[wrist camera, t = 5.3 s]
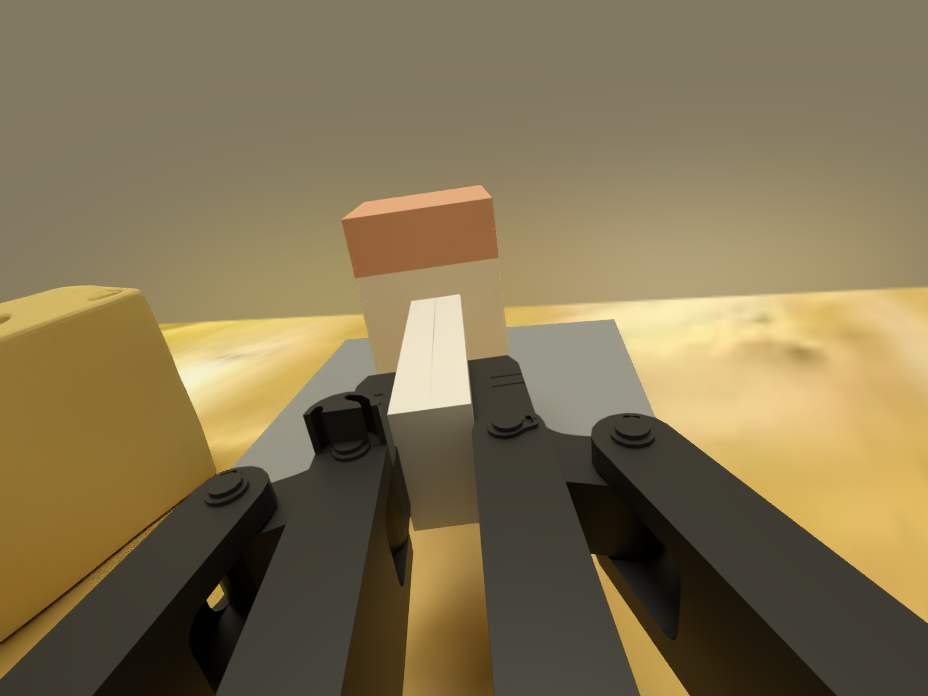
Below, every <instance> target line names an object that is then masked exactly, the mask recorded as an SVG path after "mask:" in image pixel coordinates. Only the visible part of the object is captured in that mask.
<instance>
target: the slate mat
mask: <svg viewBox="0 0 928 696" xmlns="http://www.w3.org/2000/svg"><path fill="white" fill-rule="evenodd" d="M506 333H507V342H508V352H509V356H510V357H511V358H512V359H514V360H515V361H517V362H518V363H519V366H520V369H521V372H522V375H523V378H524V381H525V384H526V387H527V390H528V393H529V396H530V399H531V402H532V405H533V408H534V411H535V413H536V414H538V415H539V416H540V417H541V418H542V420H543V421H544V422H545V425H546V427H547V428H549V429H551V430H553V431H556V432H560V433H563V434H570V435H580V436H591V432H592V427H593V426H594V425H595V424H596V423H597V422H598V421H599V420H601V419H603V418H605V417H608V416H610V415H615V414H622V413H638V414H643V415H647V416H651V417H655V416H654V413H653V411H652V409H651V406H650V404H649V401H648V399H647V397H646V394H645V392H644V390H643V387H642V385H641V382H640V380H639V378H638V375H637V373H636V371H635V368H634V366H633V363H632V361H631V359H630V356H629V354H628V352H627V349H626V347H625V344H624V342H623V340H622V337H621V335H620V333H619V330H618V328H617V325H616V323H615V321H614V319H613V320H599V321H586V322H573V323H560V324H547V325H533V326H520V327H507V328H506ZM370 375H377V370H376V366H375V361H374V357H373V353H372V349H371V344H370V340H369V338H362V339H349V340H345V341H344V343H343V344H342V345H341V346H340V347H339V348H338V349H337V350H336V352H335V353H334V354H333V355H332V356H331V357H330V358H329V359H328V360H327V362H326V363H325V364H324V365H323V366H322V367H321V368H320V369H319V371H318V372H317V373H316V374H315V375H314V376H313V377H312V378H311V380H310V381H309V382H308V383H307V384H306V385H305V386H304V387H303V389H302V390H301V391H300V392H299V393H298V394H297V395H296V396H295V398H294V399H293V400H292V401H291V402H290V403H289V404H288V405H287V407H286V408H285V409H284V410H283V411H282V412H281V413H280V414H279V416H278V417H277V418H276V419H275V420H274V421H273V422H272V423H271V424H270V426H269V427H268V428H267V429H266V430H265V431H264V432H263V433H262V435H261V436H260V437H259V438H258V439H257V440H256V441H255V442H254V444H253V445H252V446H251V447H250V448H249V449H248V450H247V451H246V453H245V454H244V455H243V456H242V457H241V458H240V459H239V460H238V462H237V463H236V464H235V465H234V466H233V467H232V468H236V467H245V466H255V467H260V468H262V469H263V470H265V471H266V472H267V473H268V475H269V478H270V481H271V483H272V482H275V481H278V480H281V479H284V478H287V477H290V476H293V475H296V474H298V473H301V472H303V471H306V470H308V469H309V467H310V465H311V463H312V460H313V458H314V455H315V452H314V449H313V446H312V443H311V440H310V437H309V433H308V430H307V427H306V424H305V421H304V418H303V414H304V413H305V412H306V411H307V410H308V408H309V407H311V406H312V405H314V404H315V403H317V402H318V401H320V400H322V399H325V398H327V397H329V396H332V395H335V394H339V393H344V392H352V391H355V389H356V387H357V386H358V385H359V384H360V383H361V382H362V381H363V380H364V379H365V378H366V377H367V376H370ZM232 468H231V469H232Z"/></svg>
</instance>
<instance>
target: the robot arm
mask: <svg viewBox="0 0 928 696" xmlns="http://www.w3.org/2000/svg"><path fill="white" fill-rule="evenodd" d="M303 418H304V421H305V424H306V427H307V430H308V433H309V437H310V440H311V443H312V446H313V449H314V452H315V455H314V458H313V460H312V463H311V465H310V467H309V469H308V470H306V471H303V472H301V473H298V474H296V475H293V476H290V477H287V478H284V479H281V480H278V481H275V482H272V483H271V481H270V478H269V475H268V473H267V472H266V471H265V470H263V469H262V468H260V467H255V466H245V467H236V468H232V469H230V470H226V471H223V472H220V473H219V474H218V475H216V476H214V477H212V478H210V479H208V480H207V481H205V482H204V483H203V484H201V485H200V486H199V487H198V488H196V489H195V490H194V491H193V492H192V493H191V494H190V495H189V496H188V497H187V498H186V499H185V500H184V501H183V502H182V503H181V504H180V505H179V506H178V507H177V508H175V509H174V510H173V511H172V512H171V513H170V514H169V515H168V516H167V517H166V518H165V519H164V520H163V521H162V522H161V523H160V524H159V525H158V526H157V527H156V528H155V529H154V530H153V531H152V532H151V533H150V534H149V535H148V536H147V537H146V538H145V539H144V540H143V541H142V542H141V543H140V544H139V545H138V546H137V547H136V548H135V549H133V550H132V551H131V552H130V553H129V554H128V555H127V556H126V557H125V558H124V559H123V560H122V561H121V562H120V563H119V564H118V565H117V566H116V567H115V568H114V569H113V570H112V571H111V572H110V573H109V574H108V575H107V576H106V577H105V578H104V579H103V580H102V581H101V582H100V583H99V584H98V585H97V586H96V587H95V588H94V589H93V590H92V591H90V592H89V593H88V594H87V595H86V596H85V597H84V598H83V599H82V600H81V601H80V602H79V603H78V604H77V605H76V606H75V607H74V608H73V609H72V610H71V611H70V612H69V613H68V614H67V615H66V616H65V617H64V618H63V619H62V620H61V621H60V622H59V623H58V624H57V625H56V626H55V627H54V628H53V629H52V630H51V631H50V632H49V633H47V634H46V635H45V636H44V637H43V638H42V639H41V640H40V641H39V642H38V643H37V644H36V645H35V646H34V647H33V648H32V649H31V650H30V651H29V652H28V653H27V654H26V655H25V656H24V657H23V658H22V659H21V660H20V661H19V662H18V663H17V664H16V665H15V666H14V667H13V668H12V669H11V670H10V671H9V672H8V673H7V674H6V675H4V676H3V677H2V678H1V679H0V696H402V694H403V680H404V667H405V654H406V640H407V627H408V613H409V600H410V587H411V573H412V560H413V549H412V543H411V539H410V535H409V531H408V530H409V520H410V515H411V519H412V523H413V527H414V531H417V530H425V529H433V528H440V527H448V526H455V525H463V524H471V523H478V522H479V524H480V536H481V547H482V559H483V570H484V582H485V594H486V605H487V617H488V628H489V640H490V652H491V663H492V675H493V686H494V696H640V694H639V691H638V688H637V685H636V682H635V679H634V676H633V674H632V671H631V668H630V665H629V662H628V659H627V656H626V653H625V651H624V648H623V645H622V642H621V639H620V636H619V633H618V631H617V628H616V625H615V622H614V619H613V616H612V613H611V611H610V608H609V605H608V602H607V599H606V596H605V593H604V591H603V588H602V585H601V582H600V579H599V576H598V573H597V571H596V568H595V565H594V562H593V559H592V556H591V554H595V555H596V557H597V559H598V562H599V564H600V566H601V567H602V568H603V570H604V571H605V573H606V574H607V576H608V577H609V579H610V580H611V582H612V583H613V584H614V586H615V587H616V589H617V590H618V592H619V593H620V595H621V596H622V598H623V599H624V600H625V602H626V603H627V605H628V606H629V608H630V609H631V611H632V612H633V614H634V615H635V616H636V618H637V619H638V621H639V622H640V624H641V625H642V627H643V628H644V630H645V631H646V632H647V634H648V635H649V637H650V638H651V640H652V641H653V643H654V644H655V646H656V647H657V648H658V650H659V651H660V653H661V654H662V656H663V657H664V659H665V660H666V662H667V663H668V664H669V666H670V667H671V669H672V670H673V672H674V673H675V675H676V676H677V678H678V679H679V680H680V682H681V683H682V685H683V686H684V688H685V689H686V691H687V692H688V694H689V695H690V696H928V623H926V622H925V621H924V620H923V619H921V618H920V617H919V616H917V615H916V614H915V613H913V612H912V611H911V610H909V609H908V608H907V607H906V606H904V605H903V604H902V603H900V602H899V601H898V600H896V599H895V598H894V597H892V596H891V595H890V594H889V593H887V592H886V591H885V590H883V589H882V588H881V587H879V586H878V585H877V584H875V583H874V582H873V581H872V580H870V579H869V578H868V577H866V576H865V575H864V574H862V573H861V572H860V571H859V570H857V569H856V568H855V567H853V566H852V565H851V564H849V563H848V562H847V561H845V560H844V559H843V558H842V557H840V556H839V555H838V554H836V553H835V552H834V551H832V550H831V549H830V548H828V547H827V546H826V545H825V544H823V543H822V542H821V541H819V540H818V539H817V538H815V537H814V536H813V535H811V534H810V533H809V532H808V531H806V530H805V529H804V528H802V527H801V526H800V525H798V524H797V523H796V522H794V521H793V520H792V519H791V518H789V517H788V516H787V515H785V514H784V513H783V512H781V511H780V510H779V509H777V508H776V507H775V506H774V505H772V504H771V503H770V502H768V501H767V500H766V499H764V498H763V497H762V496H760V495H759V494H758V493H757V492H755V491H754V490H753V489H751V488H750V487H749V486H747V485H746V484H745V483H743V482H742V481H741V480H740V479H738V478H737V477H736V476H734V475H733V474H732V473H730V472H729V471H728V470H726V469H725V468H724V467H723V466H721V465H720V464H719V463H717V462H716V461H715V460H713V459H712V458H711V457H709V456H708V455H707V454H706V453H704V452H703V451H702V450H700V449H699V448H698V447H696V446H695V445H694V444H692V443H691V442H690V441H689V440H687V439H686V438H685V437H683V436H682V435H681V434H679V433H678V432H677V431H675V430H674V429H673V428H672V427H670V426H669V425H668V424H666V423H664V422H662V421H660V420H659V419H657V418H655V417H651V416H647V415H643V414H638V413H622V414H615V415H610V416H608V417H605V418H603V419H601V420H599V421H598V422H597V423H596V424H595V425H594V426H593V427H592V432H591V436H580V435H570V434H563V433H560V432H556V431H553V430H551V429H549V428H547V427H546V425H545V422H544V421H543V420H542V418H541V417H540V416H539V415H538V414H536V413H535V411H534V408H533V405H532V402H531V399H530V396H529V393H528V390H527V387H526V384H525V381H524V378H523V375H522V372H521V369H520V366H519V363H518V362H517V361H515V360H514V359H512V358H511V357H510V356H508V355H503V356H496V357H489V358H482V359H474V360H470V359H469V352H468V345H467V338H466V331H465V324H464V317H463V310H462V303H461V297H460V294H458V295H451V296H444V297H437V298H430V299H423V300H416V301H411V305H410V310H409V315H408V319H407V324H406V329H405V334H404V338H403V343H402V348H401V352H400V357H399V362H398V367H397V371H396V372H391V373H384V374H377V375H370V376H367V377H366V378H365V379H364V380H363V381H362V382H361V383H360V384H359V385H358V386H357V387H356V389H355V391H352V392H344V393H339V394H335V395H332V396H329V397H327V398H325V399H322V400H320V401H318V402H317V403H315V404H314V405H312V406H311V407H309V408H308V410H307V411H306V412H305V413H304V414H303ZM218 584H220V586H221V588H222V590H223V592H224V596H223V597H222V598H221V600H220V601H219V602H218V603H217V604H216V605H215V606H214V607H213V608H212V609H211V608H210V607H209V605H208V603H207V601H206V600H207V598H208V597H209V596H210V595H211V593H212V592H213V591H214V589H215V588H216V587H217V585H218Z"/></svg>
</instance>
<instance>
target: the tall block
mask: <svg viewBox="0 0 928 696" xmlns="http://www.w3.org/2000/svg"><path fill="white" fill-rule="evenodd" d="M342 224H343V229H344V233H345V237H346V241H347V246H348V250H349V254H350V259H351V263H352V267H353V271H354V275H355V280H356V284H357V288H358V293H359V297H360V301H361V305H362V310H363V314H364V319H365V323H366V327H367V331H368V336H369V340H370V344H371V349H372V353H373V357H374V361H375V366H376V370H377V374H384V373H391V372H396V371H397V367H398V362H399V357H400V352H401V348H402V343H403V338H404V334H405V329H406V324H407V319H408V315H409V310H410V305H411V301H416V300H423V299H430V298H437V297H444V296H451V295H458V294H460V297H461V303H462V310H463V317H464V324H465V331H466V338H467V345H468V352H469V359H470V360H474V359H482V358H489V357H496V356H503V355H508V356H509V352H508V342H507V333H506V324H505V314H504V305H503V296H502V287H501V277H500V268H499V259H498V249H497V239H496V230H495V221H494V211H493V202H492V197H491V196H490V195H489V194H488V193H487V192H486V190H485V189H484V188H483V187H482V186H481V185H479V186H472V187H465V188H458V189H451V190H444V191H438V192H430V193H424V194H417V195H411V196H403V197H397V198H390V199H383V200H376V201H369V202H364V203H363V204H362V205H360V206H359V207H358V208H356V209H355V210H354V211H352V212H351V213H350V214H348V215H347V216H346V217H344V218H343V219H342Z"/></svg>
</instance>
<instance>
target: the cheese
mask: <svg viewBox="0 0 928 696" xmlns="http://www.w3.org/2000/svg"><path fill="white" fill-rule="evenodd" d="M215 474H216V468H215V465H214V462H213V459H212V456H211V453H210V450H209V447H208V444H207V441H206V438H205V435H204V432H203V429H202V427H201V424H200V422H199V419H198V417H197V414H196V412H195V409H194V407H193V405H192V403H191V401H190V398H189V396H188V394H187V391H186V389H185V387H184V385H183V383H182V380H181V378H180V376H179V374H178V371H177V369H176V366H175V363H174V360H173V358H172V355H171V353H170V351H169V348H168V346H167V343H166V341H165V339H164V337H163V334H162V332H161V330H160V328H159V326H158V324H157V322H156V320H155V318H154V316H153V313H152V311H151V309H150V307H149V305H148V303H147V301H146V299H145V297H144V295H143V293H142V292H141V291H140V290H139V289H132V288H114V287H100V286H72V287H63V288H57V289H53V290H50V291H46V292H42V293H38V294H35V295H31V296H28V297H24V298H20V299H16V300H12V301H8V302H5V303H0V642H2V641H3V640H4V639H6V638H7V637H8V636H9V635H11V634H12V633H13V632H15V631H16V630H17V629H19V628H20V627H21V626H23V625H24V624H25V623H27V622H28V621H29V620H30V619H32V618H33V617H34V616H36V615H37V614H38V613H40V612H41V611H42V610H43V609H45V608H46V607H47V606H49V605H50V604H51V603H52V602H54V601H55V600H56V599H58V598H59V597H60V596H61V595H63V594H64V593H65V592H66V591H68V590H69V589H70V588H71V587H73V586H74V585H75V584H76V583H77V582H79V581H80V580H81V579H82V578H84V577H85V576H86V575H87V574H89V573H90V572H91V571H92V570H94V569H95V568H96V567H97V566H99V565H100V564H101V563H102V562H104V561H105V560H106V559H107V558H109V557H110V556H111V555H112V554H114V553H115V552H116V551H117V550H118V549H120V548H121V547H122V546H123V545H125V544H126V543H127V542H128V541H130V540H131V539H132V538H133V537H135V536H136V535H137V534H138V533H140V532H141V531H142V530H144V529H145V528H146V527H147V526H149V525H150V524H151V523H153V522H154V521H155V520H157V519H158V518H159V517H160V516H162V515H163V514H164V513H166V512H167V511H168V510H170V509H171V508H172V507H174V506H175V505H176V504H178V503H179V502H180V501H182V500H183V499H184V498H186V497H187V496H188V495H189V494H191V493H192V492H193V491H194V490H195V489H196V488H198V487H199V486H200V485H201V484H203V483H204V482H205V481H207V480H208V479H210V478H212V477H213V476H214V475H215Z"/></svg>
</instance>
